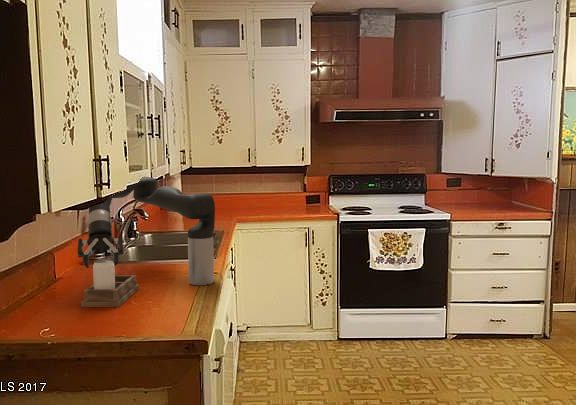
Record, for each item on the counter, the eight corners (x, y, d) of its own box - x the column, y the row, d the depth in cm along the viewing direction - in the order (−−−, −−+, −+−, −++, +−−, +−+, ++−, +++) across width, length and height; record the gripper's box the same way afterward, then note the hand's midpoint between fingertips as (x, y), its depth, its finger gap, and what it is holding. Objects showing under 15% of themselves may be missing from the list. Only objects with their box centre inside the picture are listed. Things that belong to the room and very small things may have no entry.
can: (112, 299, 154) (111, 262, 153) (91, 300, 153) (90, 263, 152) (117, 293, 160) (116, 258, 159) (97, 294, 160) (96, 258, 158)
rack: (105, 288, 172) (104, 275, 172) (139, 288, 172) (138, 274, 172) (81, 306, 151) (80, 291, 151) (119, 306, 151) (118, 291, 151)
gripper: (121, 230, 172) (124, 269, 163) (78, 233, 167) (78, 273, 158) (121, 218, 167) (124, 257, 158) (76, 220, 162) (77, 261, 152)
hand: (101, 265), depth 158 cm, fingers open, 8 cm apart
